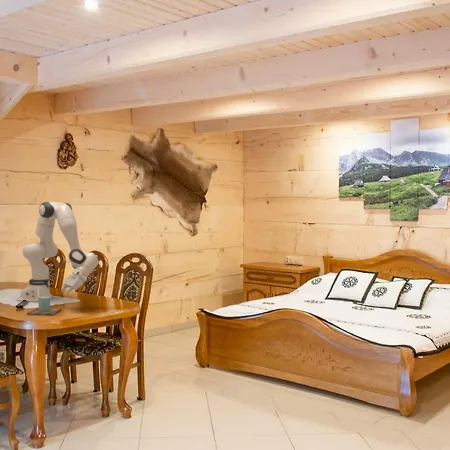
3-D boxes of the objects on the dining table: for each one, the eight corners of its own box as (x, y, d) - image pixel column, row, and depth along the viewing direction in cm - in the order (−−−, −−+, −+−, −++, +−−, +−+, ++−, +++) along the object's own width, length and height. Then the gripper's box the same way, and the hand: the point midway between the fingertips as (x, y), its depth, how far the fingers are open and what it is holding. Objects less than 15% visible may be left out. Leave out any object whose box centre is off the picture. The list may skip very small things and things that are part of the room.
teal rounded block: (41, 311, 362) (41, 298, 362) (38, 310, 367) (38, 296, 367) (50, 310, 365) (49, 297, 364) (47, 309, 370) (46, 295, 369)
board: (26, 315, 358) (26, 304, 358) (35, 309, 374) (35, 300, 374) (53, 315, 358) (53, 305, 358) (61, 310, 374) (61, 300, 374)
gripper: (70, 270, 385) (55, 287, 380) (80, 273, 368) (65, 291, 363) (77, 276, 387) (62, 293, 383) (88, 280, 370) (72, 297, 365)
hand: (64, 292), depth 373 cm, fingers open, 8 cm apart
